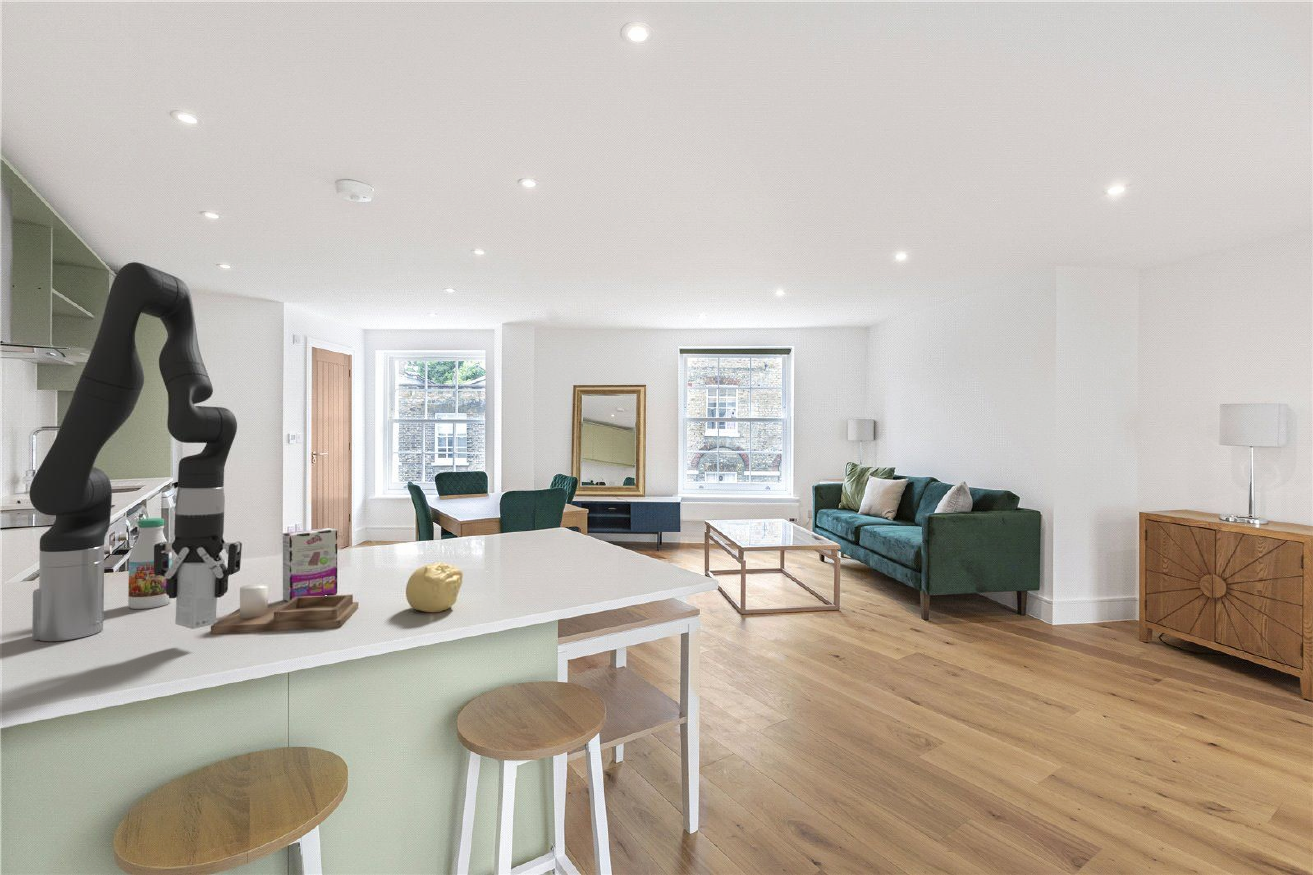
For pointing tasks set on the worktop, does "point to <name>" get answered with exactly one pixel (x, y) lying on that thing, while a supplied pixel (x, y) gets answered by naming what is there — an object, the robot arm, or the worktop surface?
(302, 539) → the candy bar box
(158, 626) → the worktop surface
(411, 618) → the worktop surface
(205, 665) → the worktop surface
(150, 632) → the worktop surface
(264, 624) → the walnut organizer
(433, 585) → the sculpture
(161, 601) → the milk bottle
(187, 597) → the skincare box
